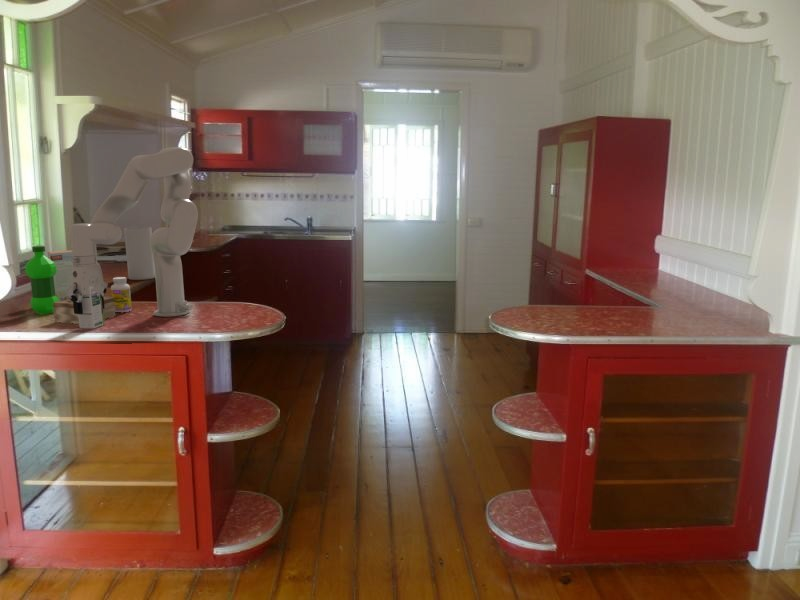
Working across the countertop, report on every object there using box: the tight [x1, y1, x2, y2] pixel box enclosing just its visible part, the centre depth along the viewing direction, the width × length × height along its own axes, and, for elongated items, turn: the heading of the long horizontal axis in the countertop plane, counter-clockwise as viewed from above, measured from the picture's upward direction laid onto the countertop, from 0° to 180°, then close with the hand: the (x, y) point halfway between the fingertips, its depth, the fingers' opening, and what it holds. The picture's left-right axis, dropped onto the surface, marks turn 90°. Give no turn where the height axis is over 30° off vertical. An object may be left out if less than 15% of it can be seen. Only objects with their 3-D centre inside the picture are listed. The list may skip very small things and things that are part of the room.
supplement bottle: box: [110, 276, 132, 313], centre depth 257 cm, size 7×7×13 cm
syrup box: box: [77, 286, 105, 330], centre depth 232 cm, size 6×6×14 cm
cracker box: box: [47, 249, 74, 301], centre depth 279 cm, size 14×6×21 cm, turn 126°
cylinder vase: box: [123, 226, 155, 281], centre depth 339 cm, size 12×12×25 cm
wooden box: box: [53, 296, 116, 325], centre depth 245 cm, size 14×14×7 cm
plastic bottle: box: [24, 245, 59, 315], centre depth 256 cm, size 10×10×25 cm
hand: (89, 311), depth 232 cm, fingers open, 9 cm apart
